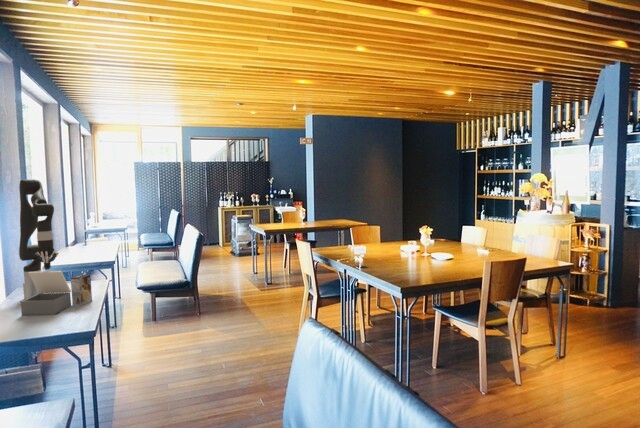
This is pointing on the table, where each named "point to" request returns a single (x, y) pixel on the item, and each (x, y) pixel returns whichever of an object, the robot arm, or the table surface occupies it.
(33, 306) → the box
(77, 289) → the coffee box
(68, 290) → the lid
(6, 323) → the table surface
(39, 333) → the table surface
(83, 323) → the table surface
